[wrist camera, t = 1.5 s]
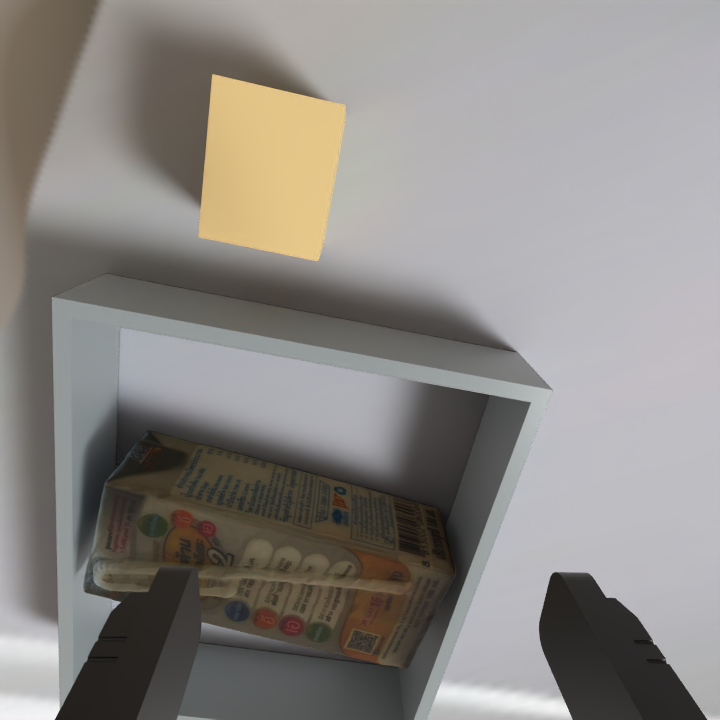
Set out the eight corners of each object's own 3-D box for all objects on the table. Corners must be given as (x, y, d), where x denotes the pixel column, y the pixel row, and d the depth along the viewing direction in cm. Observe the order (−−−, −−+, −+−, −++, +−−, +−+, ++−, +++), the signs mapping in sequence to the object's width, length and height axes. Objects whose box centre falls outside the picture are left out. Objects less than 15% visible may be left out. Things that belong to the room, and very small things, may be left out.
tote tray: (106, 273, 25) (51, 296, 21) (518, 352, 28) (553, 390, 23) (98, 638, 35) (60, 710, 30) (406, 676, 37) (415, 749, 32)
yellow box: (240, 93, 23) (212, 73, 18) (346, 118, 23) (345, 105, 18) (226, 224, 25) (198, 237, 20) (323, 244, 25) (318, 261, 21)
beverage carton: (145, 418, 29) (91, 486, 23) (445, 500, 32) (469, 581, 25) (124, 523, 32) (70, 609, 25) (402, 590, 34) (414, 682, 28)
